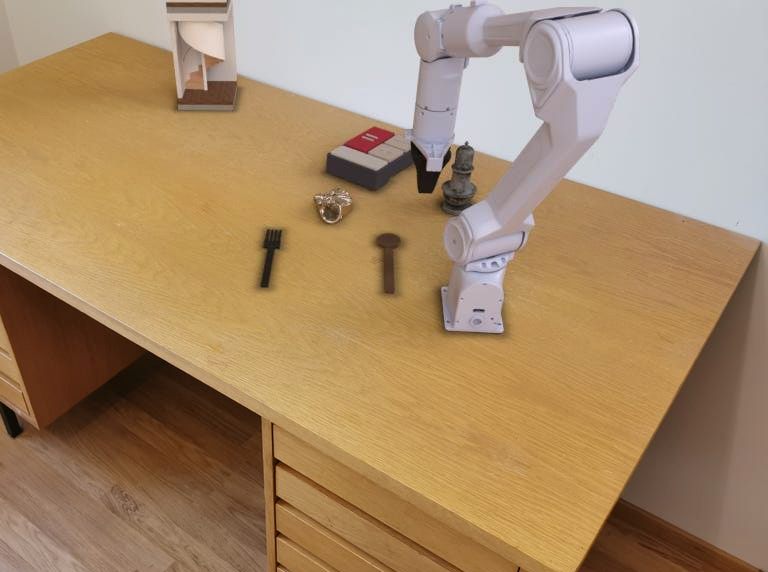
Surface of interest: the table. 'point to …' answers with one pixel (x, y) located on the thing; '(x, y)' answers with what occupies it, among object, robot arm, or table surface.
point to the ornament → (333, 204)
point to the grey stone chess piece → (459, 182)
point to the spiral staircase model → (203, 53)
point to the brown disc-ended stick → (389, 258)
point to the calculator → (370, 158)
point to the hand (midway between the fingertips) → (425, 191)
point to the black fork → (270, 254)
